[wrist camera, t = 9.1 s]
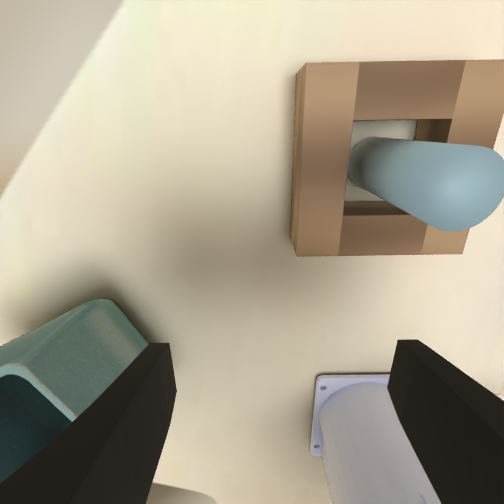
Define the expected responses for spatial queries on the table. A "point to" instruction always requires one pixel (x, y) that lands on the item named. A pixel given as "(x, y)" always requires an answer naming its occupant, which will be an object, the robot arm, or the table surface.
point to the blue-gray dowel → (431, 179)
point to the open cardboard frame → (381, 108)
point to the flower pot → (59, 375)
